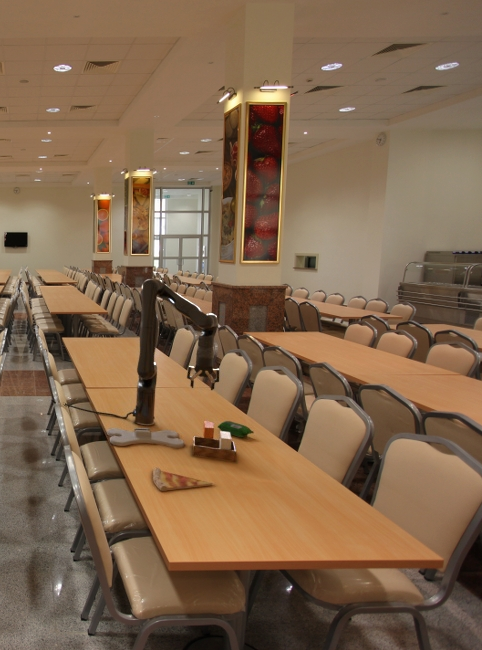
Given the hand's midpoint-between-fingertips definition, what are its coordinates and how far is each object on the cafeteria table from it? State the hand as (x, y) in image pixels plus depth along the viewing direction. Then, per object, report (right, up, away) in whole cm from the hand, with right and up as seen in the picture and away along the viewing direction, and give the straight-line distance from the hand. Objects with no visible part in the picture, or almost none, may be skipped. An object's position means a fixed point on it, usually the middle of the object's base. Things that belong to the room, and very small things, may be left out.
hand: (201, 388), depth 241 cm
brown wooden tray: (-2, -26, -17) cm, 31 cm away
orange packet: (+1, -25, -4) cm, 25 cm away
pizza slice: (-28, -30, -47) cm, 63 cm away
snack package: (+19, -24, +7) cm, 31 cm away
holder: (-28, -24, -1) cm, 37 cm away
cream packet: (+3, -26, -18) cm, 32 cm away
